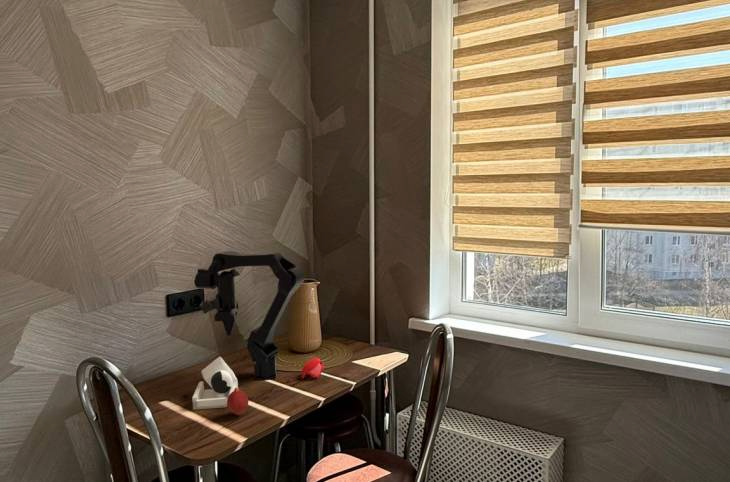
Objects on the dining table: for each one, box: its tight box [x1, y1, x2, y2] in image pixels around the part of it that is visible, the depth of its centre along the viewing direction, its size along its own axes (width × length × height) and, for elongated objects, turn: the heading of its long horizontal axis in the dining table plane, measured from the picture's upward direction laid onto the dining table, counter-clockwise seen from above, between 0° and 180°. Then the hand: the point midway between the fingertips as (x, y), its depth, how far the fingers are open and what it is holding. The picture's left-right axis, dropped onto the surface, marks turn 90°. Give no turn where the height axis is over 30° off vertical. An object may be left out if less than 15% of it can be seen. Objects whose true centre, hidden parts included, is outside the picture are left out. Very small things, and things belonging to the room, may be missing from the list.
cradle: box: [192, 379, 239, 411], centre depth 171 cm, size 11×13×4 cm
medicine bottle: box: [200, 356, 238, 394], centre depth 173 cm, size 7×7×12 cm
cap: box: [301, 357, 324, 380], centre depth 187 cm, size 8×6×6 cm
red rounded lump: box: [226, 387, 249, 416], centre depth 159 cm, size 6×6×8 cm
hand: (228, 335), depth 192 cm, fingers closed
